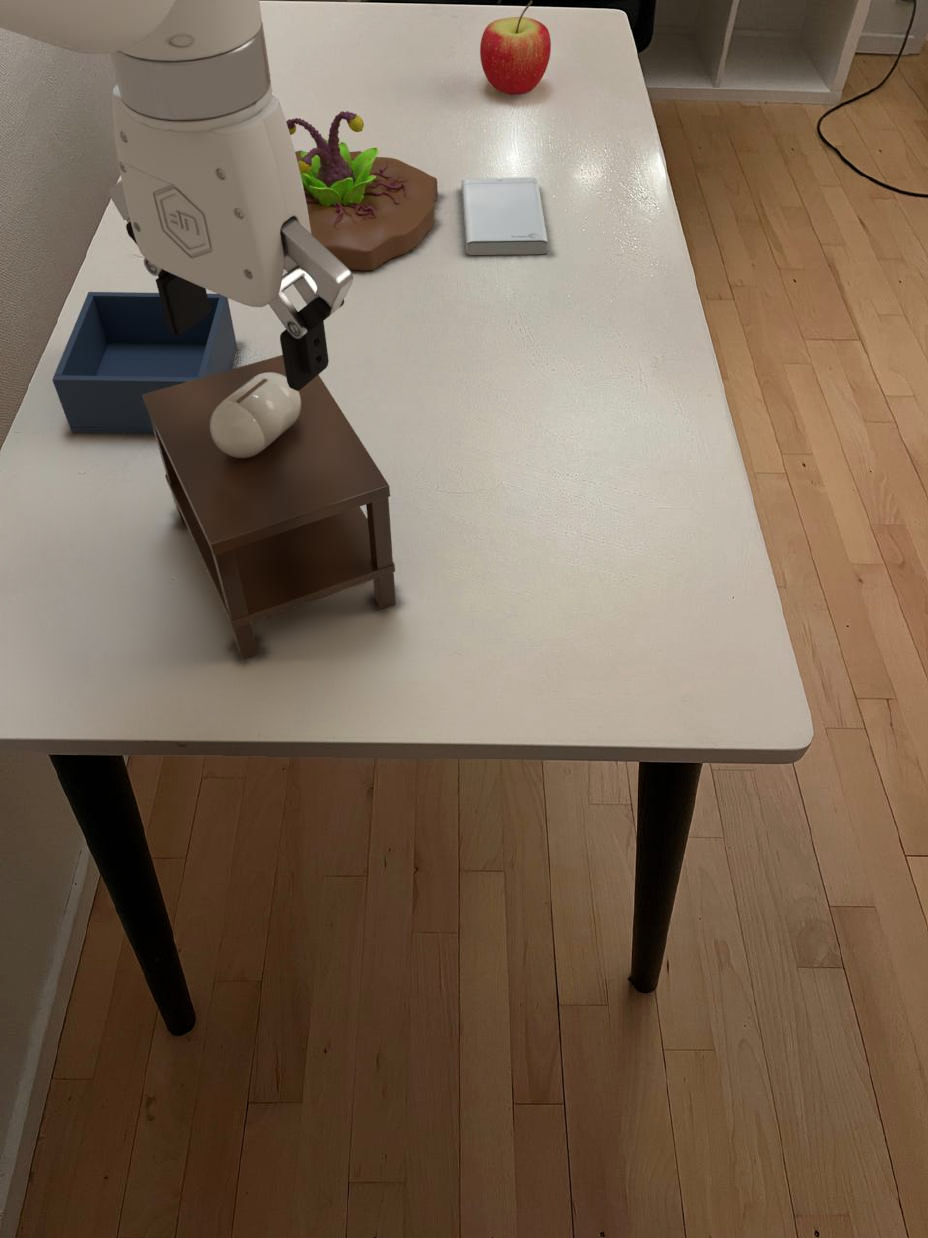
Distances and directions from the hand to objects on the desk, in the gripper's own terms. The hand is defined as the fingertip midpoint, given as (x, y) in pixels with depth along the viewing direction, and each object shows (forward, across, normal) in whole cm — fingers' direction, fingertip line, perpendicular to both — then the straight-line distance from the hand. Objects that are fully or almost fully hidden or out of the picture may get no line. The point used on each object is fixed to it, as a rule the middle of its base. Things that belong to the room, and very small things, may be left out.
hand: (248, 349), depth 66 cm
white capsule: (+7, 0, 0) cm, 7 cm away
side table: (+19, 0, -1) cm, 19 cm away
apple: (+20, -27, +75) cm, 82 cm away
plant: (+20, -26, +40) cm, 52 cm away
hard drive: (+20, -12, +49) cm, 54 cm away
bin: (+19, -22, +9) cm, 31 cm away
